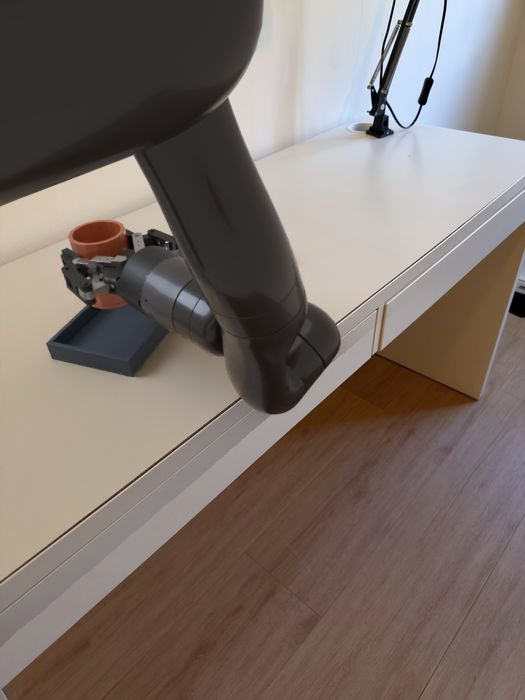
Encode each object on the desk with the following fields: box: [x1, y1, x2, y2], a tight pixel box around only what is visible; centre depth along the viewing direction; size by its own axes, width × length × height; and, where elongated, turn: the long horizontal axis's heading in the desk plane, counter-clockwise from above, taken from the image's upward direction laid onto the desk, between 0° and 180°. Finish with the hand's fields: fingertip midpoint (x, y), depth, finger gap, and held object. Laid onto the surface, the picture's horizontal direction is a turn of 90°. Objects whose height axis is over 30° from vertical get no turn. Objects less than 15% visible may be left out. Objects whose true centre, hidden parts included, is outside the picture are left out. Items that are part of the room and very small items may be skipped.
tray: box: [45, 304, 170, 377], centre depth 72 cm, size 15×12×3 cm
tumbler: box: [67, 219, 130, 309], centre depth 66 cm, size 7×7×9 cm
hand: (91, 245), depth 66 cm, fingers closed on tumbler, 6 cm apart
